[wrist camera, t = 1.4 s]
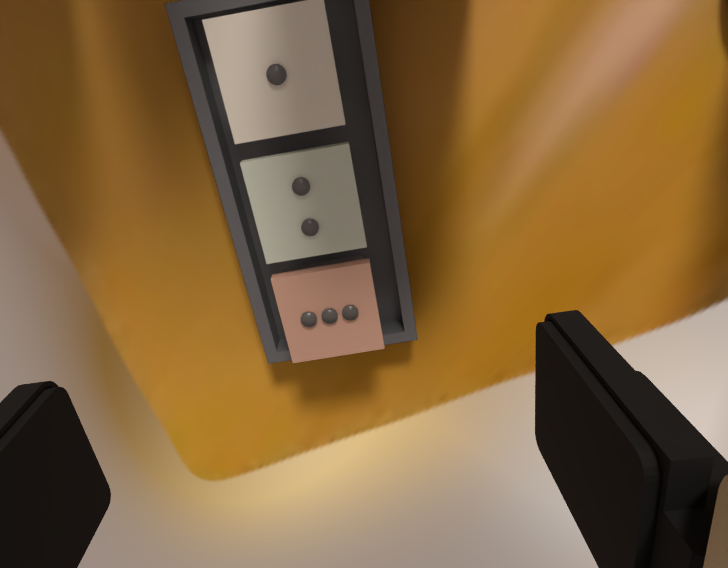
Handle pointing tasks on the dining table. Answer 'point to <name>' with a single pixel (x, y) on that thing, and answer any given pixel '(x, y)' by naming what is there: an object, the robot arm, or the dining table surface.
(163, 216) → the dining table surface
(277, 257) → the tile
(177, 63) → the dining table surface
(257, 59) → the tile
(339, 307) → the tile
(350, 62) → the gray rectangular tray
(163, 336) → the dining table surface
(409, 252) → the dining table surface
